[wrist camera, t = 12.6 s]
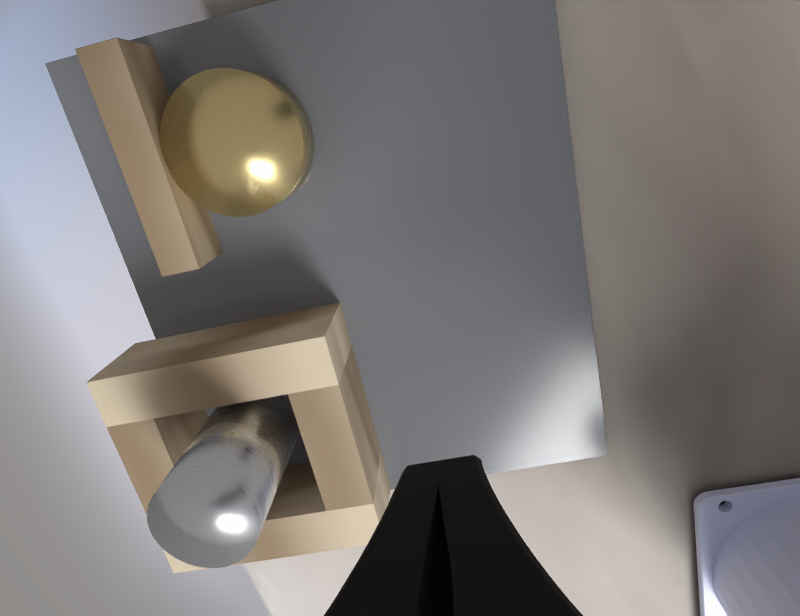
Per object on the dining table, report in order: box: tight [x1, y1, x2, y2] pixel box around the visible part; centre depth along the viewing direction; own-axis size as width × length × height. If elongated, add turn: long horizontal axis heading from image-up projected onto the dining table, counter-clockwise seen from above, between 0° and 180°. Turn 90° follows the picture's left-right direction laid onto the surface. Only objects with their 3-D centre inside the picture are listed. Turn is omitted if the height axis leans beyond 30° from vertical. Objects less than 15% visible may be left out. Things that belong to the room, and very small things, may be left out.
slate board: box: [46, 0, 608, 489], centre depth 19 cm, size 15×17×1 cm
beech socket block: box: [86, 302, 390, 573], centre depth 19 cm, size 8×8×3 cm
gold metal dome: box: [160, 68, 314, 217], centre depth 16 cm, size 4×4×2 cm
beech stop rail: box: [76, 38, 223, 277], centre depth 16 cm, size 1×6×2 cm, turn 12°
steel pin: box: [147, 394, 300, 568], centre depth 17 cm, size 3×3×6 cm
